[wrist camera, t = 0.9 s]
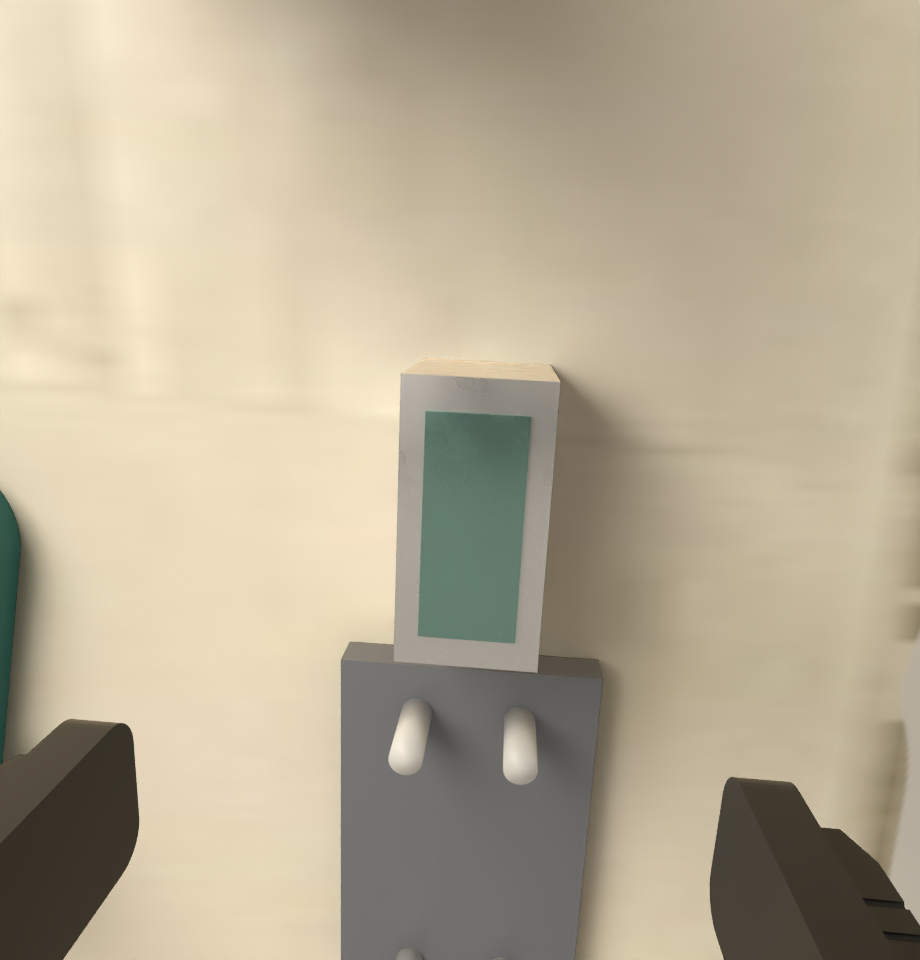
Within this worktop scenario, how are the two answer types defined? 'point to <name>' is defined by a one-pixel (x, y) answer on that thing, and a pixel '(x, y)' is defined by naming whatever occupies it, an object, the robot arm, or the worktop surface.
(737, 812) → the robot arm
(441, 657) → the block
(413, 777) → the grey wall plate
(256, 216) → the worktop surface
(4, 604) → the bracket
